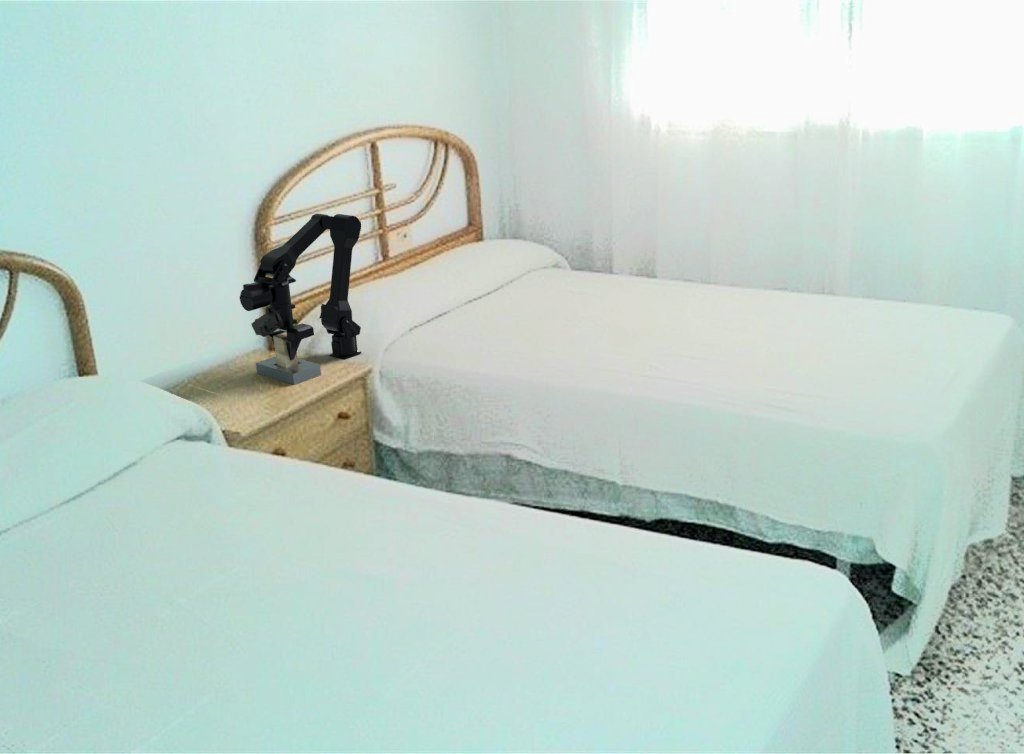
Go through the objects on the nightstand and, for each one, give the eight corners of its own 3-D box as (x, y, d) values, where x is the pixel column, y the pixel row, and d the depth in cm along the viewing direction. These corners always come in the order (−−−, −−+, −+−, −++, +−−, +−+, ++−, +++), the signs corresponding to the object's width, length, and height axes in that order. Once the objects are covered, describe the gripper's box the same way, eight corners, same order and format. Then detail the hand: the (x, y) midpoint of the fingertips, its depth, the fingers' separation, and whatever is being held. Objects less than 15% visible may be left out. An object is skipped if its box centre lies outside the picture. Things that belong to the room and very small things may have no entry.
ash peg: (289, 364, 280) (285, 332, 277) (298, 366, 278) (294, 334, 275) (277, 368, 277) (273, 336, 274) (286, 370, 275) (282, 338, 272)
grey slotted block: (283, 364, 286) (282, 354, 285) (321, 375, 276) (319, 364, 275) (257, 373, 280) (255, 362, 279) (294, 384, 270) (292, 373, 269)
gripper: (233, 304, 272) (241, 360, 277) (277, 314, 260) (284, 373, 265) (267, 294, 279) (274, 349, 285) (312, 304, 268) (318, 361, 273)
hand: (287, 358), depth 277 cm, fingers closed on ash peg, 4 cm apart
